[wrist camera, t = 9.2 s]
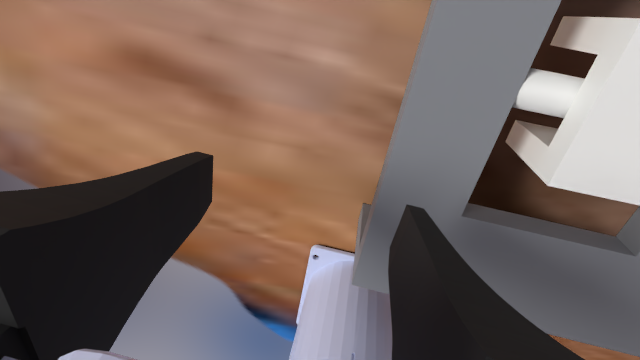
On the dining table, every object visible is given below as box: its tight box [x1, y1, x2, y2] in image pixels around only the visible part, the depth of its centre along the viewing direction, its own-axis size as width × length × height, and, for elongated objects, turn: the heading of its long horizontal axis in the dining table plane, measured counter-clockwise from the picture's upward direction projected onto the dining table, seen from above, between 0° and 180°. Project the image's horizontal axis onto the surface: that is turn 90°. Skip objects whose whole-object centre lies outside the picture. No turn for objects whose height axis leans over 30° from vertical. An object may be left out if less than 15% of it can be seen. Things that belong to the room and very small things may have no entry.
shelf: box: [352, 0, 640, 357], centre depth 15 cm, size 24×16×6 cm, turn 170°
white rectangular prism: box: [505, 16, 640, 206], centre depth 14 cm, size 6×4×5 cm, turn 171°
